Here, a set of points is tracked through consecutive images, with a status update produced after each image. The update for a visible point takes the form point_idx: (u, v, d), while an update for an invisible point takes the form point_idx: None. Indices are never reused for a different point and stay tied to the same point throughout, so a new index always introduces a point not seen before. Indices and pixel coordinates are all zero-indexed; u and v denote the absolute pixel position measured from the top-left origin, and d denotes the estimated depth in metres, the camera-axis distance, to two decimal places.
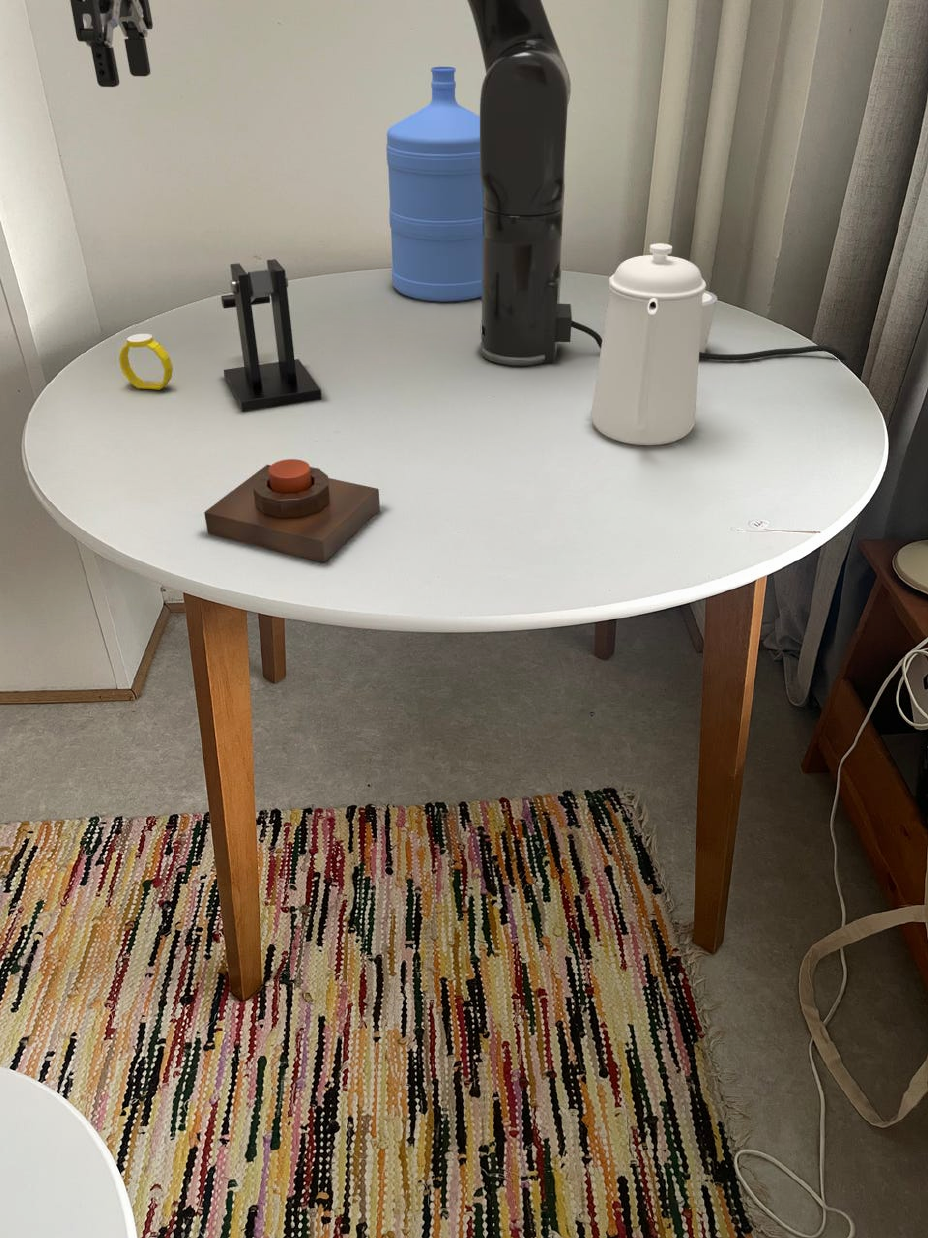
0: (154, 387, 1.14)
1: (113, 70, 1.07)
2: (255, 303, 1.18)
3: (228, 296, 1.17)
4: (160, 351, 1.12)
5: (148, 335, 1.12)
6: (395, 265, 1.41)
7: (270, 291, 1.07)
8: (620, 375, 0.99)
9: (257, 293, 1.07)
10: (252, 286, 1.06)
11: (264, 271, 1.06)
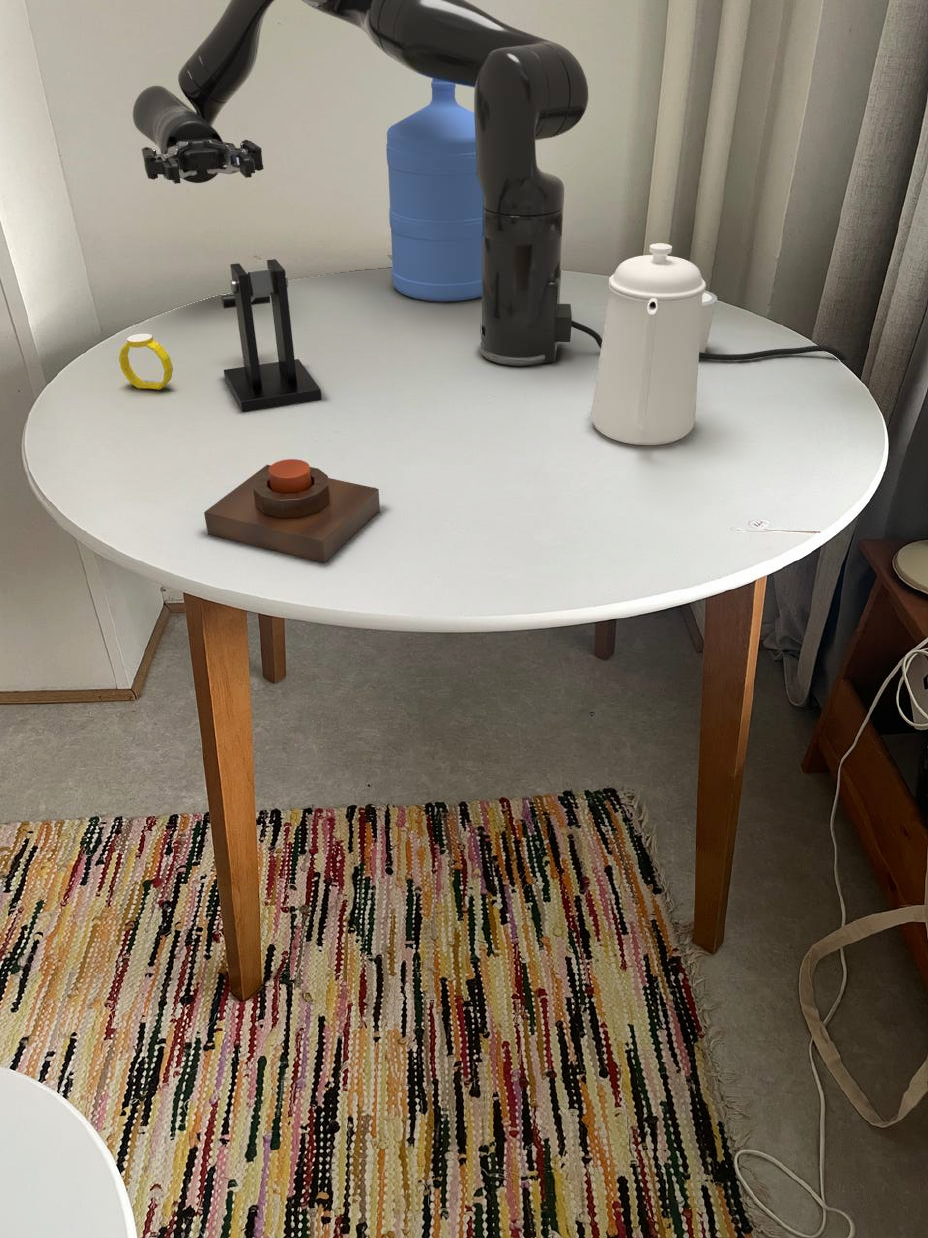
0: (154, 387, 1.14)
1: (170, 163, 1.19)
2: (255, 303, 1.18)
3: (228, 296, 1.17)
4: (160, 351, 1.12)
5: (148, 335, 1.12)
6: (395, 265, 1.41)
7: (270, 291, 1.07)
8: (620, 375, 0.99)
9: (257, 293, 1.07)
10: (252, 286, 1.06)
11: (264, 271, 1.06)
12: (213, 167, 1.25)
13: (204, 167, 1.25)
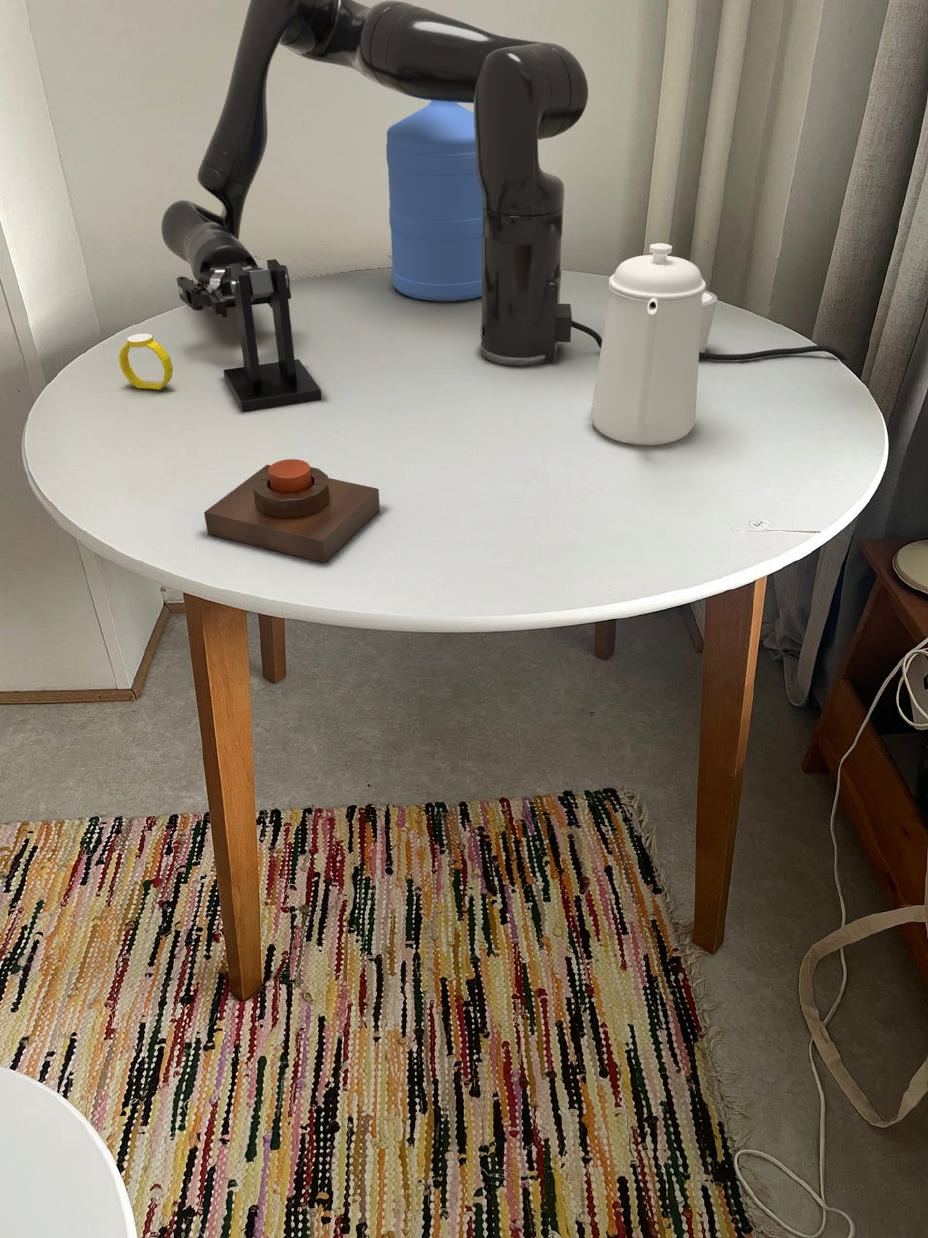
0: (154, 387, 1.14)
1: (217, 297, 1.16)
2: (255, 303, 1.18)
3: (228, 296, 1.17)
4: (160, 351, 1.12)
5: (148, 335, 1.12)
6: (395, 265, 1.41)
7: (270, 291, 1.07)
8: (620, 375, 0.99)
9: (257, 293, 1.07)
10: (252, 286, 1.06)
11: (264, 271, 1.06)
12: None
13: None
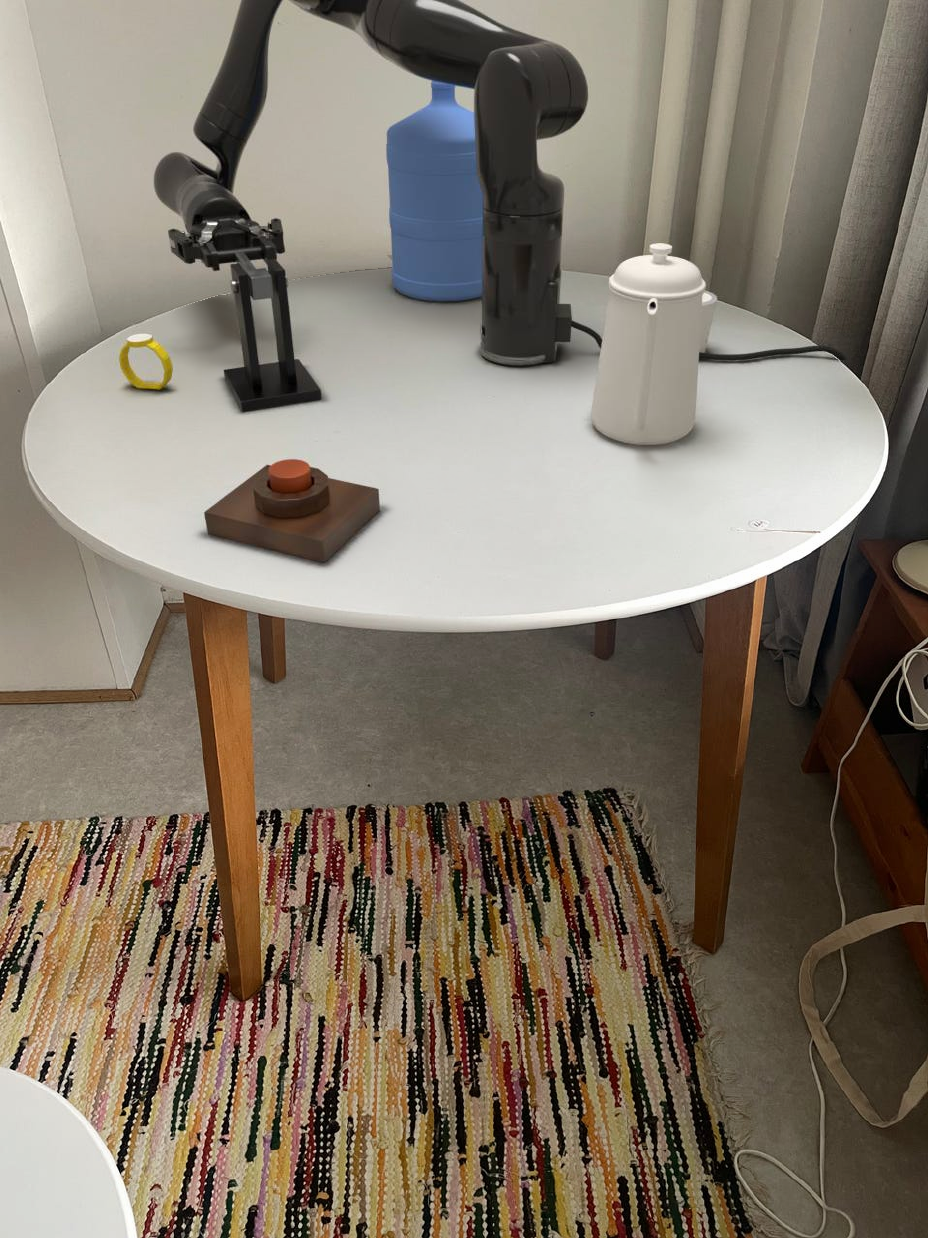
0: (154, 387, 1.14)
1: (209, 249, 1.13)
2: None
3: (221, 253, 1.15)
4: (160, 351, 1.12)
5: (148, 335, 1.12)
6: (395, 265, 1.41)
7: (270, 297, 1.08)
8: (620, 375, 0.99)
9: (257, 298, 1.07)
10: (253, 292, 1.07)
11: (266, 277, 1.06)
12: None
13: (232, 248, 1.19)
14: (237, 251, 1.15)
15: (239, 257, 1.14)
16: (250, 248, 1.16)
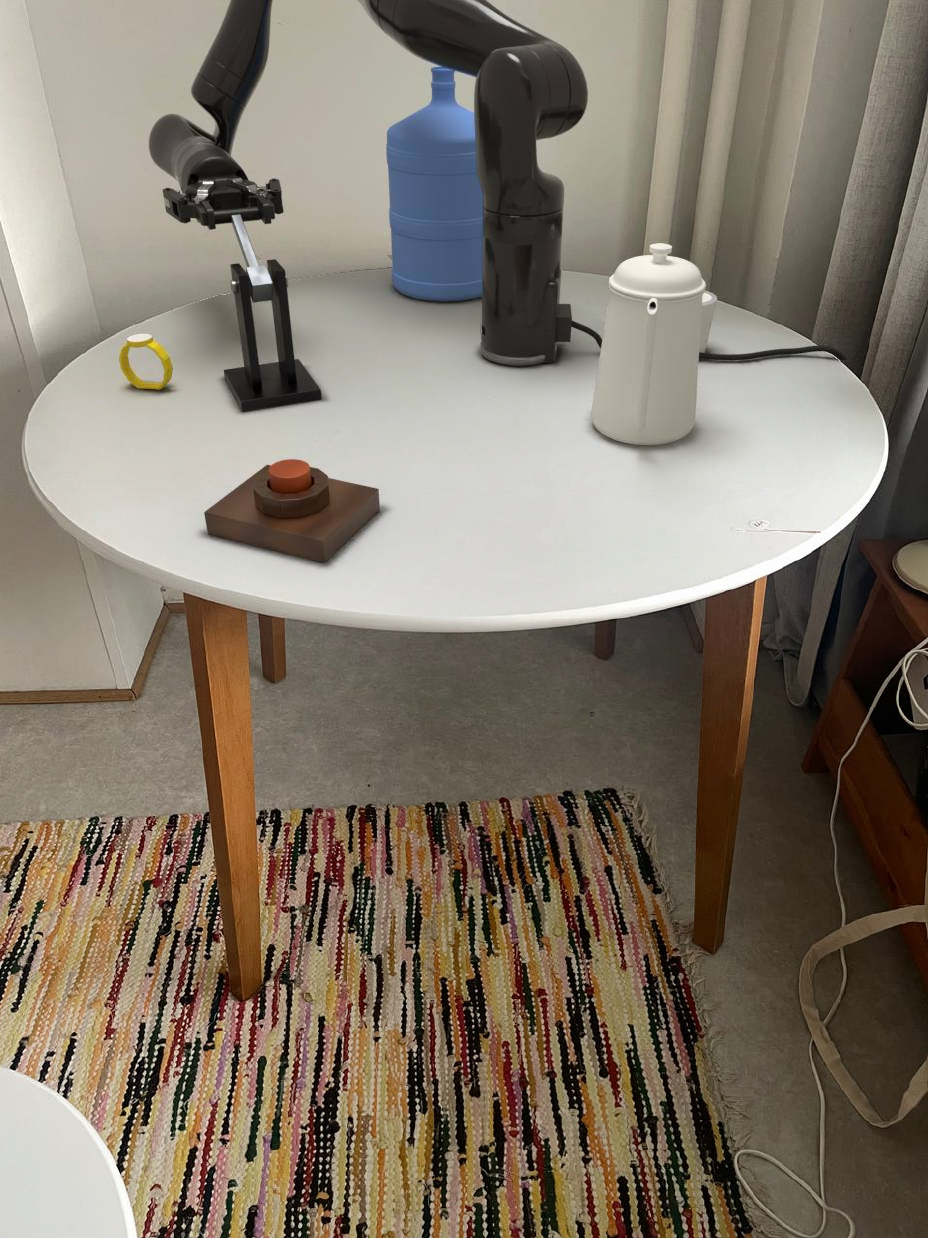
0: (154, 387, 1.14)
1: (205, 207, 1.09)
2: None
3: (217, 216, 1.11)
4: (160, 351, 1.12)
5: (148, 335, 1.12)
6: (395, 265, 1.41)
7: (269, 299, 1.08)
8: (620, 375, 0.99)
9: (256, 301, 1.08)
10: (253, 296, 1.07)
11: (267, 285, 1.06)
12: None
13: (228, 208, 1.15)
14: (234, 214, 1.12)
15: (237, 227, 1.11)
16: (247, 210, 1.12)
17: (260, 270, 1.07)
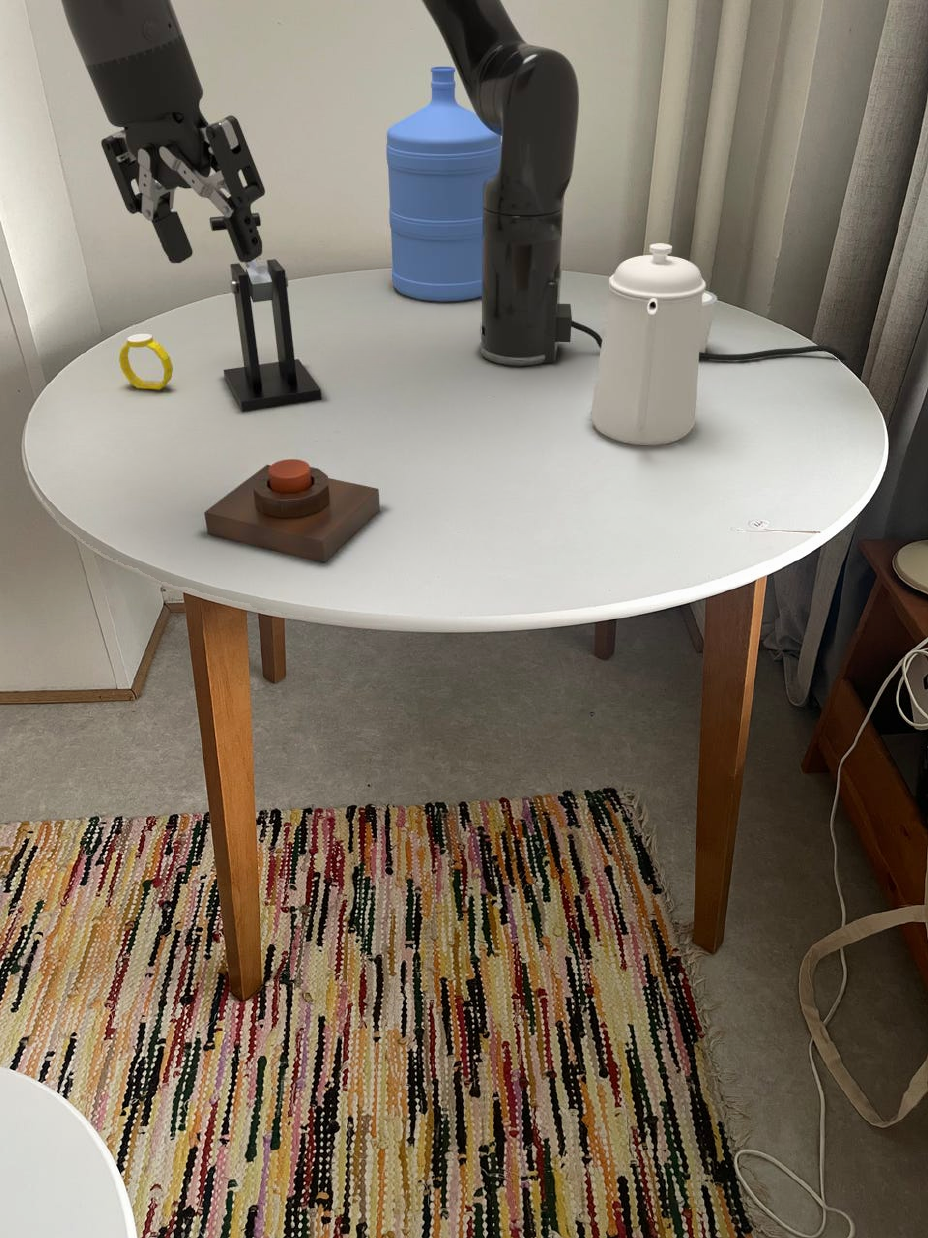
0: (154, 387, 1.14)
1: None
2: None
3: (218, 222, 1.12)
4: (160, 351, 1.12)
5: (148, 335, 1.12)
6: (395, 265, 1.41)
7: (269, 299, 1.08)
8: (620, 375, 0.99)
9: (256, 301, 1.08)
10: (253, 295, 1.07)
11: (267, 283, 1.06)
12: None
13: None
14: None
15: None
16: None
17: (260, 270, 1.07)
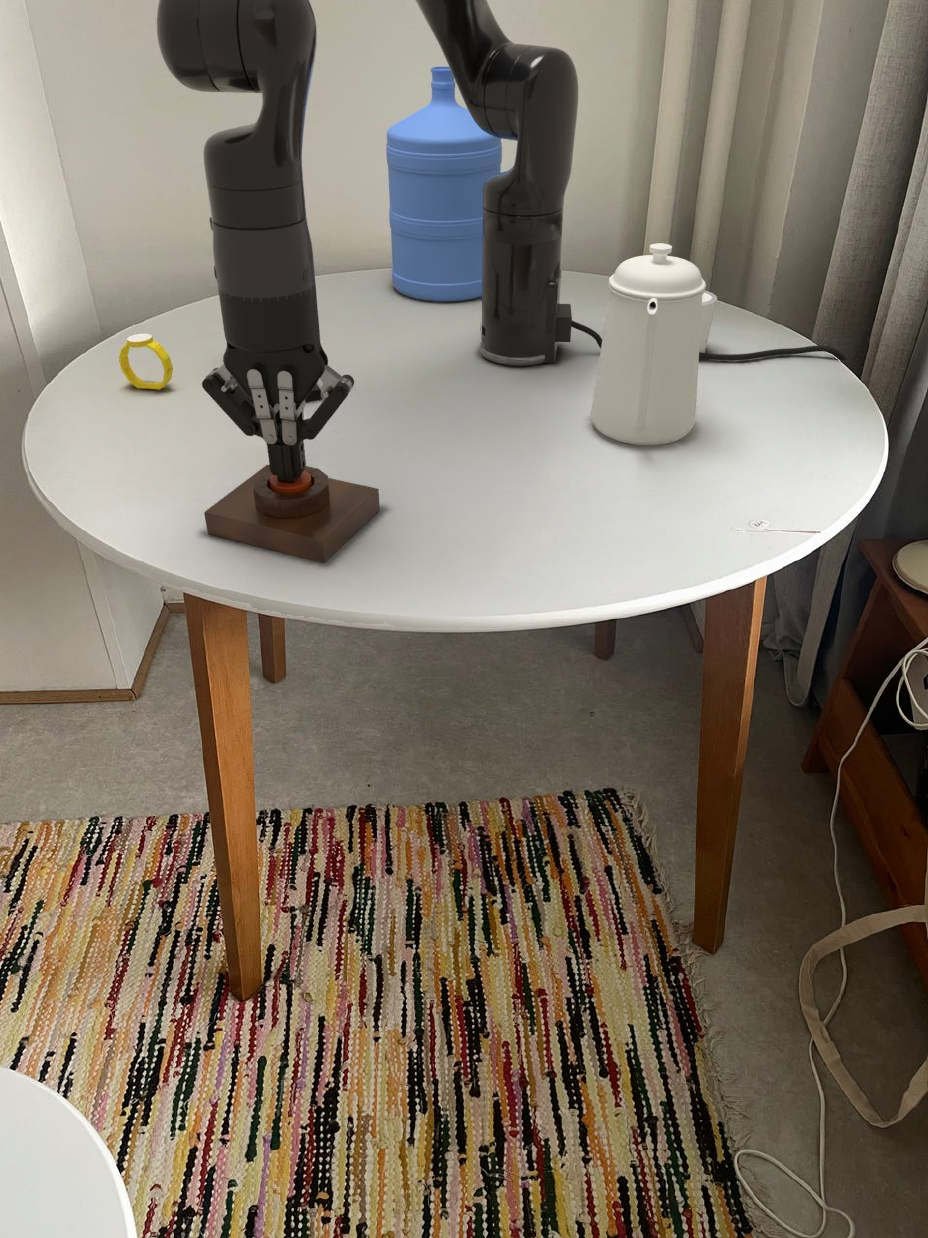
0: (154, 387, 1.14)
1: None
2: None
3: None
4: (160, 351, 1.12)
5: (148, 335, 1.12)
6: (395, 265, 1.41)
7: None
8: (620, 375, 0.99)
9: None
10: None
11: None
12: None
13: None
14: None
15: None
16: None
17: None
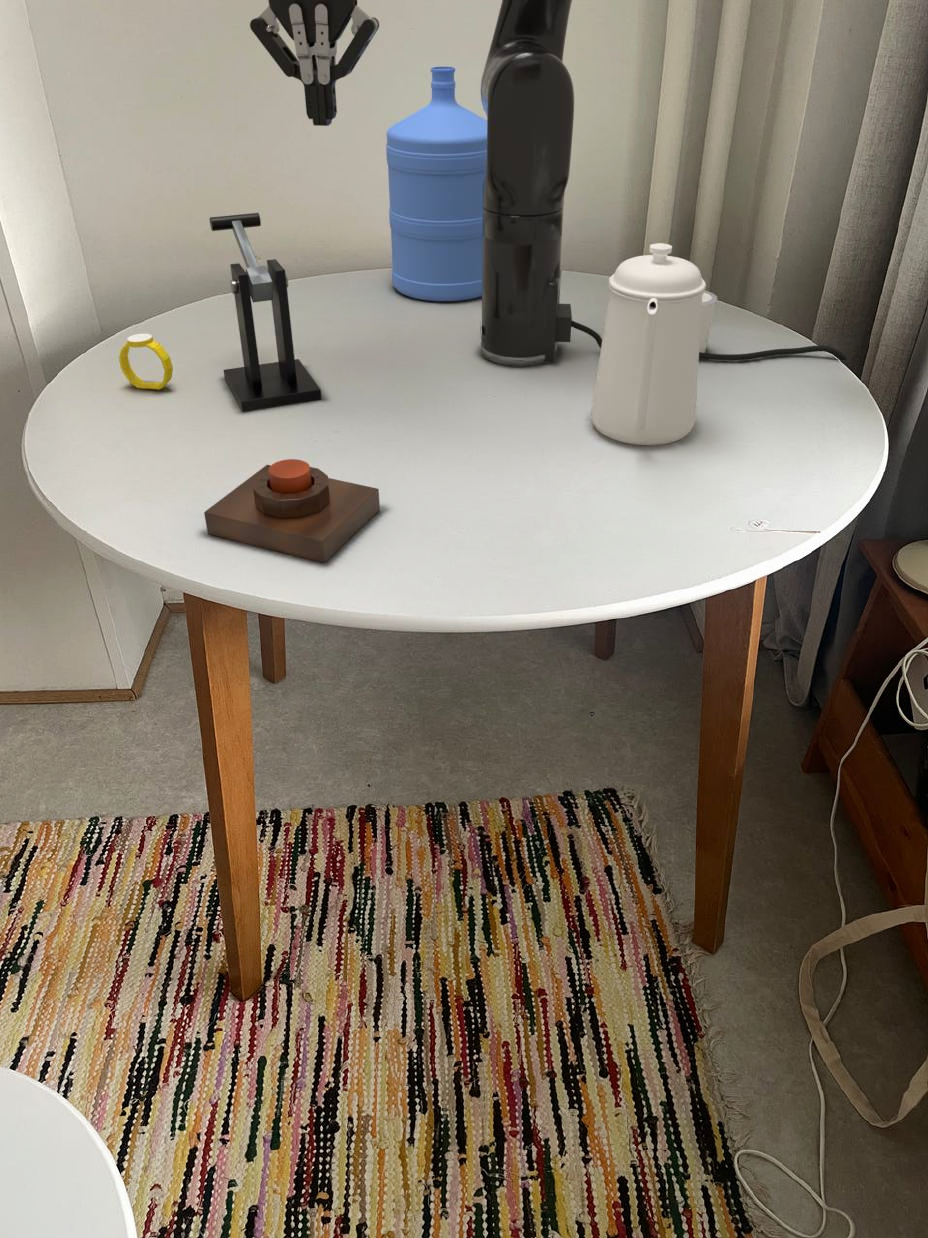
0: (154, 387, 1.14)
1: None
2: None
3: (218, 222, 1.12)
4: (160, 351, 1.12)
5: (148, 335, 1.12)
6: (395, 265, 1.41)
7: (269, 299, 1.08)
8: (620, 375, 0.99)
9: (256, 301, 1.08)
10: (253, 295, 1.07)
11: (267, 283, 1.06)
12: None
13: (313, 41, 0.97)
14: (234, 220, 1.12)
15: (237, 231, 1.11)
16: (248, 216, 1.13)
17: (260, 270, 1.07)
